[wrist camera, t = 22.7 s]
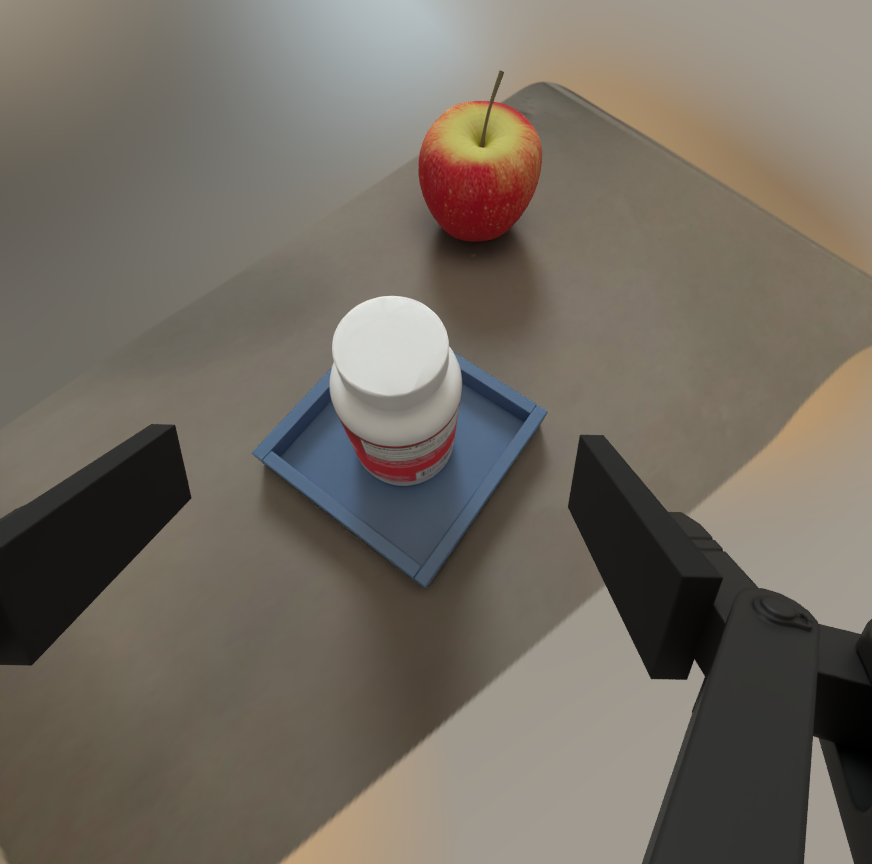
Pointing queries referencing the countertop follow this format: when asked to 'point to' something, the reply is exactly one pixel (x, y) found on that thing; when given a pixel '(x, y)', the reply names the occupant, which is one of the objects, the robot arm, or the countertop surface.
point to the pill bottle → (396, 388)
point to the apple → (479, 168)
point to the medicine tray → (416, 504)
